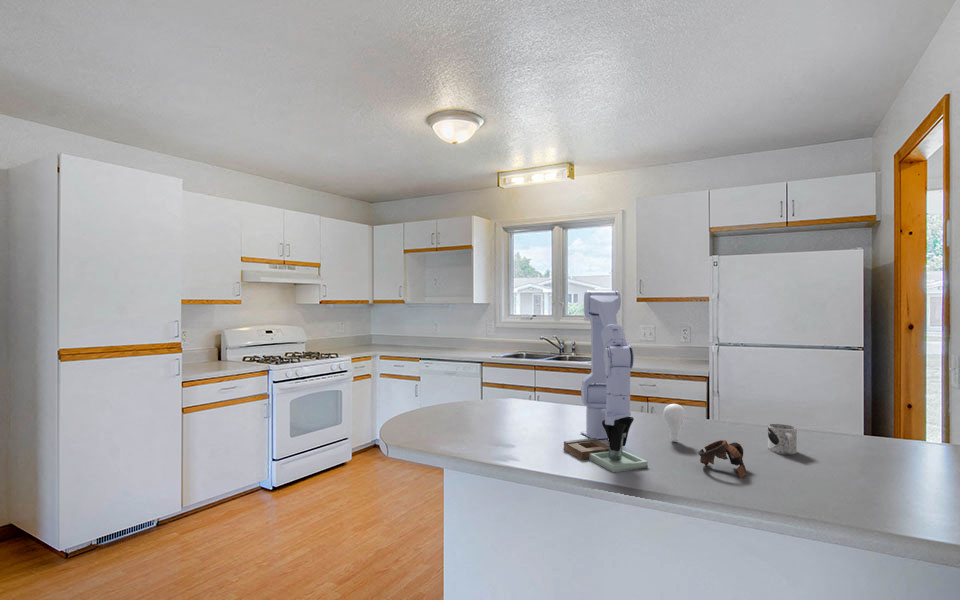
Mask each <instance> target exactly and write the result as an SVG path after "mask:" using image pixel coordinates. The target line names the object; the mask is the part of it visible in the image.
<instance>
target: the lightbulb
mask: <svg viewBox="0 0 960 600" xmlns="http://www.w3.org/2000/svg"><path fill="white" fill-rule="evenodd" d="M686 417H687V412H686V409H684V406H683V407H682V406H681V405H680V404H677V403H670V404H668V405H666V406H665V407H664V409H663V419H664V421H665V422H666V424H667V428H668V433H669V440H670V441H672V442H673V443H676V442H678V441H680V434H681V430H682V427H683V426H682V425H684V422H685V420H686V419H687V418H686Z"/></svg>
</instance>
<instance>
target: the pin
mask: <svg viewBox="0 0 960 600" xmlns="http://www.w3.org/2000/svg"><path fill="white" fill-rule="evenodd" d="M625 437H626V432H625V431H623V435H622V440H621V447H620V451H614V450H611V449H610V445H609V444H608V445H609V455H608V458H609V459H611V460H615V461H620V460H621V459H622V450H623V447H624V446H623V438H625Z"/></svg>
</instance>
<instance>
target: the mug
mask: <svg viewBox="0 0 960 600" xmlns="http://www.w3.org/2000/svg"><path fill="white" fill-rule="evenodd" d="M797 429H798V428H797V427H796V426H794V425H789V424H785V423H769V424H768V425H767V450H768V451H770V452H772V453H775V454H780V455H786V456H787V455H788V456H789V455H793V456H794V455H796V454H797V443H798V442H797V436H798V435H797V431H798V430H797Z"/></svg>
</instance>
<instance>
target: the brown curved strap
mask: <svg viewBox="0 0 960 600" xmlns="http://www.w3.org/2000/svg"><path fill="white" fill-rule="evenodd" d="M704 450H705V451H704ZM698 454H699V456H700V459H699V461H700V463H701V464H703V465H704V466H705V467H707V466H708V465H709V464H711V465H714V464H715V462H714V461H715V458H717V459H722V460H726V461H727V460H729V461H730V464H731V465H733V466H737V468H736V469H735V471H736V472H737V475H738V478H743V477H744V476H746V475H747V474H748V471H747V469H746V466H745V463H744V460H743V458H744V448H743V446H742V445H741V444H740V443H739V442H737V441H735V442H731V443H728V441H727V440H726V439H720V440H717V441H713V442H712V443H710V444H707V445H706V446H705V447H704V449H703V448H701V449H700V450H699V451H698Z"/></svg>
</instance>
